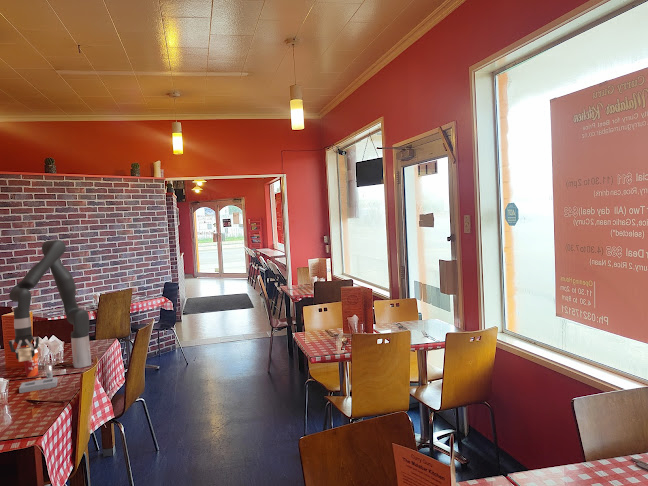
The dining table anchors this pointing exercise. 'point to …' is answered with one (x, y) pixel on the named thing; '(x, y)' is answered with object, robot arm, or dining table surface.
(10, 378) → the dining table surface
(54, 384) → the board
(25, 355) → the tan wooden cube
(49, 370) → the peg
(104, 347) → the dining table surface
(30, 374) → the paper cup
